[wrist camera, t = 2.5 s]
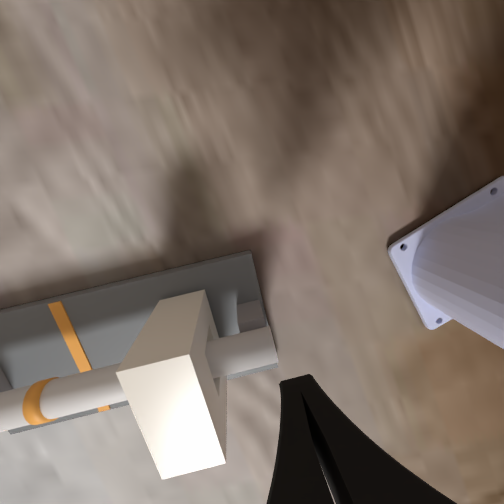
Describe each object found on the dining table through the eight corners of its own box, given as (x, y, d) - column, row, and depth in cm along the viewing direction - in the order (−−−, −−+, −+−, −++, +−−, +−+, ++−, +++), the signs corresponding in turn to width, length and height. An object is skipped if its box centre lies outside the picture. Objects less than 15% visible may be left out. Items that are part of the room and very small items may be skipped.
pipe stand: (250, 249, 18) (259, 277, 13) (275, 358, 20) (292, 421, 15) (-40, 319, 17) (-160, 379, 12) (21, 422, 20) (-57, 511, 14)
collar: (204, 289, 17) (189, 354, 10) (227, 365, 18) (225, 463, 12) (159, 300, 17) (115, 372, 10) (185, 375, 18) (162, 479, 12)
